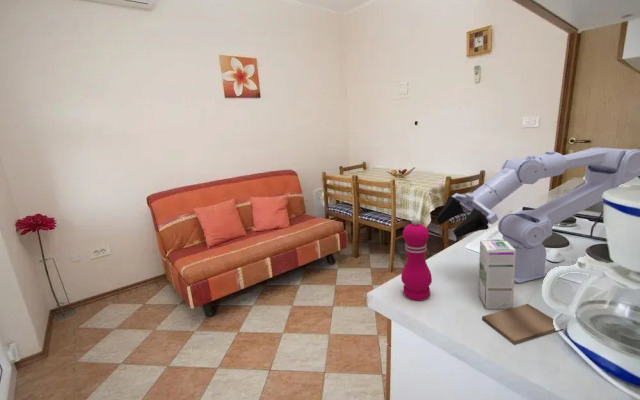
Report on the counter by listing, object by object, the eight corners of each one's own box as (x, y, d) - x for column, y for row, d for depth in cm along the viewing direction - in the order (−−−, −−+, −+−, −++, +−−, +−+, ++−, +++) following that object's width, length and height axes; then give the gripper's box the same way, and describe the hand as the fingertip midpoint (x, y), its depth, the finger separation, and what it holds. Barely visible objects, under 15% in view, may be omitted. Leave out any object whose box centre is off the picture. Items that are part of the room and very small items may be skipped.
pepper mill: (428, 304, 72) (428, 224, 67) (398, 298, 75) (396, 221, 70) (434, 289, 78) (434, 214, 73) (405, 284, 81) (403, 212, 76)
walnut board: (527, 306, 68) (527, 303, 67) (563, 329, 60) (564, 325, 60) (482, 319, 65) (482, 316, 65) (514, 344, 57) (514, 340, 57)
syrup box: (513, 310, 67) (518, 249, 63) (484, 309, 68) (487, 249, 65) (504, 296, 72) (507, 239, 69) (477, 295, 74) (479, 239, 70)
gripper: (465, 174, 80) (423, 206, 81) (507, 191, 67) (457, 229, 67) (475, 193, 83) (435, 223, 84) (518, 213, 69) (469, 250, 70)
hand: (445, 227), depth 76 cm, fingers open, 7 cm apart
